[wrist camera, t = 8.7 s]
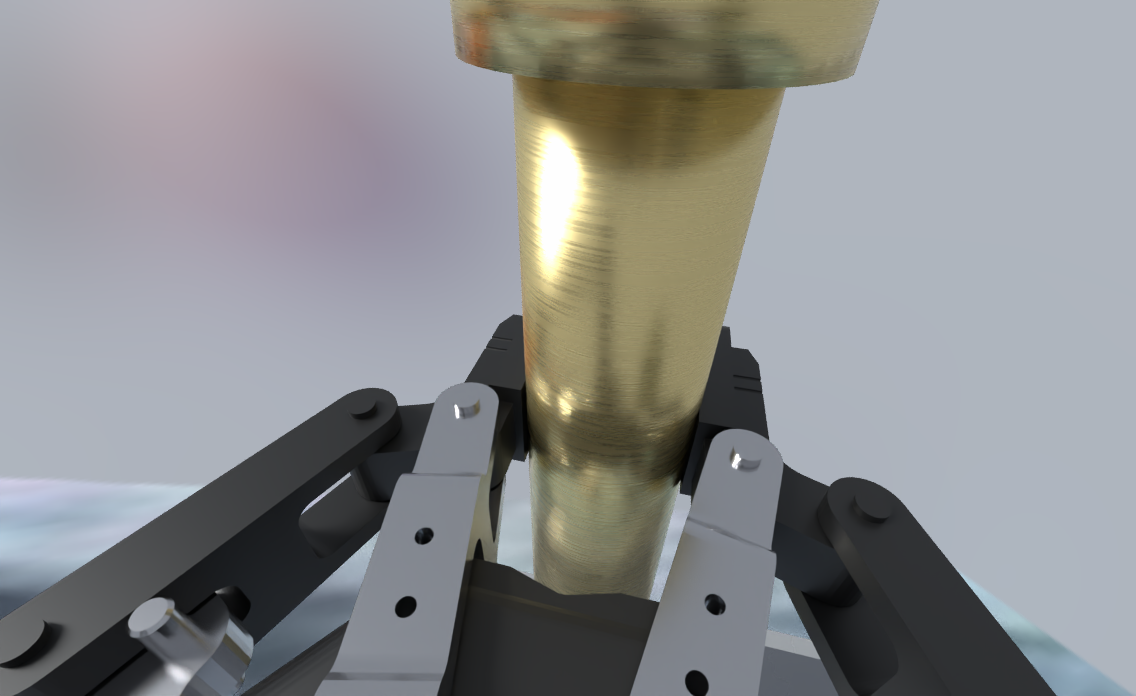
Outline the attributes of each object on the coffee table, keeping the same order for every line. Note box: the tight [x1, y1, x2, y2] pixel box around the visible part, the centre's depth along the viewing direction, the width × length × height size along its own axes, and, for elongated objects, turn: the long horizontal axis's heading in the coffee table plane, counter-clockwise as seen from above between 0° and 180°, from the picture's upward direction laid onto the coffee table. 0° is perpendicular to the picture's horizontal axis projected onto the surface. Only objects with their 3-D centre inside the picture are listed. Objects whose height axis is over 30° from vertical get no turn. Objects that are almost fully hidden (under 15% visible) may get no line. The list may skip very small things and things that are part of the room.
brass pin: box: [450, 0, 879, 600], centre depth 11 cm, size 5×5×19 cm
